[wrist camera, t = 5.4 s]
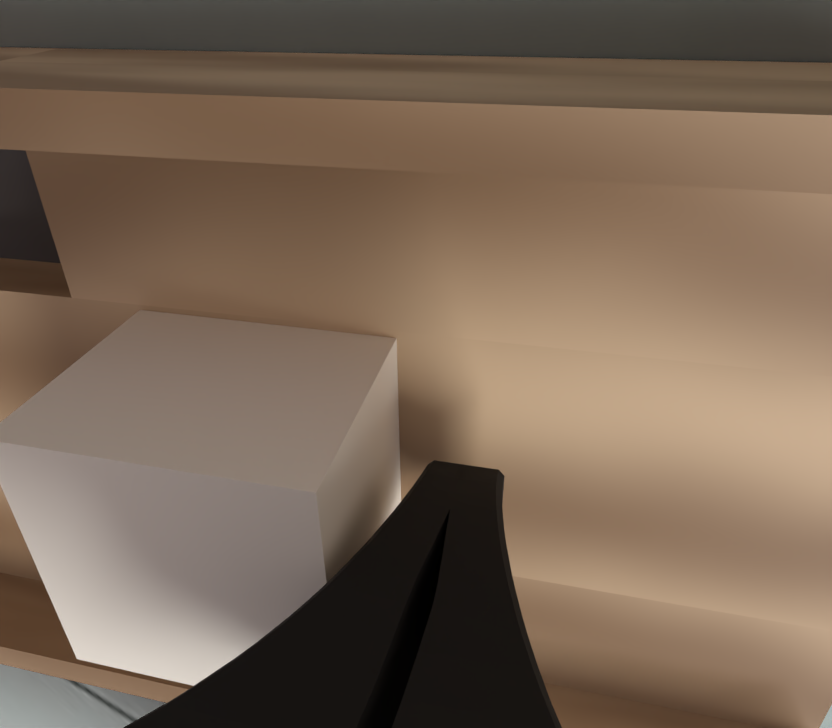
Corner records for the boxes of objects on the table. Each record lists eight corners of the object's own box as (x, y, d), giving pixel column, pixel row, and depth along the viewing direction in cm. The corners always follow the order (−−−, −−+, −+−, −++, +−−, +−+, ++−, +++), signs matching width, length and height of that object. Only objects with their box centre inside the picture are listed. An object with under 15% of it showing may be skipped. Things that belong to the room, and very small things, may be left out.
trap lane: (788, 695, 16) (831, 875, 13) (-174, 510, 22) (-302, 604, 19) (1079, 67, 9) (1330, 139, 6) (-478, 37, 15) (-766, 66, 12)
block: (402, 542, 15) (342, 719, 11) (188, 505, 16) (76, 659, 12) (396, 338, 12) (315, 492, 9) (140, 309, 13) (-20, 438, 10)
